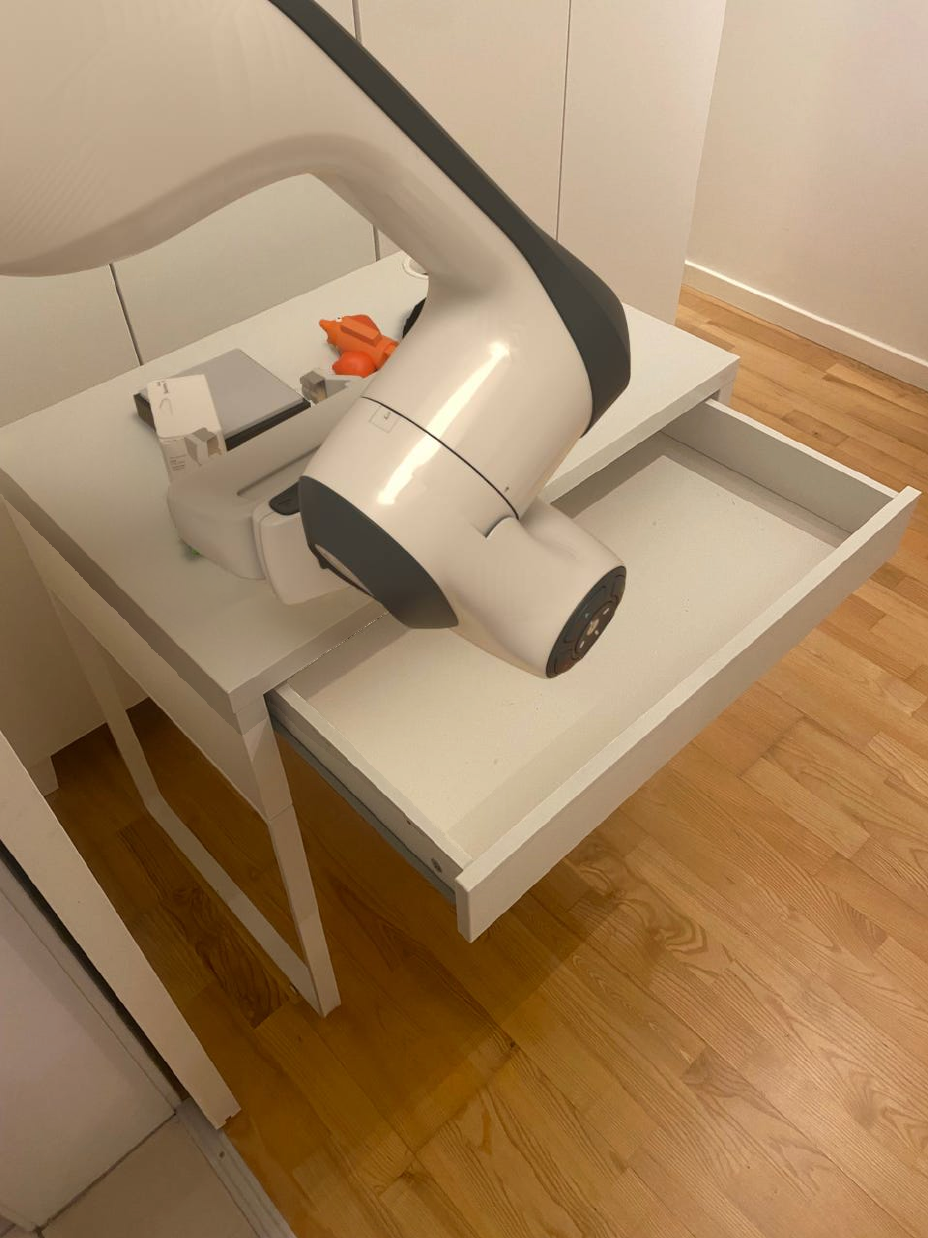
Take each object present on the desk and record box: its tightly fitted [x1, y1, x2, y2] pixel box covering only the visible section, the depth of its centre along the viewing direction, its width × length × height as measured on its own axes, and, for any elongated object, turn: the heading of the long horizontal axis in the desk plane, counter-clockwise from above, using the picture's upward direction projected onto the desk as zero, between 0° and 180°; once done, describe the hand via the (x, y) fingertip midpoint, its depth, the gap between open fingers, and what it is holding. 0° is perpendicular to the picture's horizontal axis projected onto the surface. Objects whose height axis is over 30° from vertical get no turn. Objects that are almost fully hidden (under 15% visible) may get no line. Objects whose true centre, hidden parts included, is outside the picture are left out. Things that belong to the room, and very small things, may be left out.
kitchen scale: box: [132, 347, 312, 452], centre depth 91 cm, size 12×12×3 cm
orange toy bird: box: [318, 313, 400, 378], centre depth 96 cm, size 5×8×12 cm
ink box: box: [145, 374, 227, 555], centre depth 79 cm, size 9×5×12 cm, turn 20°
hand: (253, 410), depth 65 cm, fingers open, 8 cm apart
